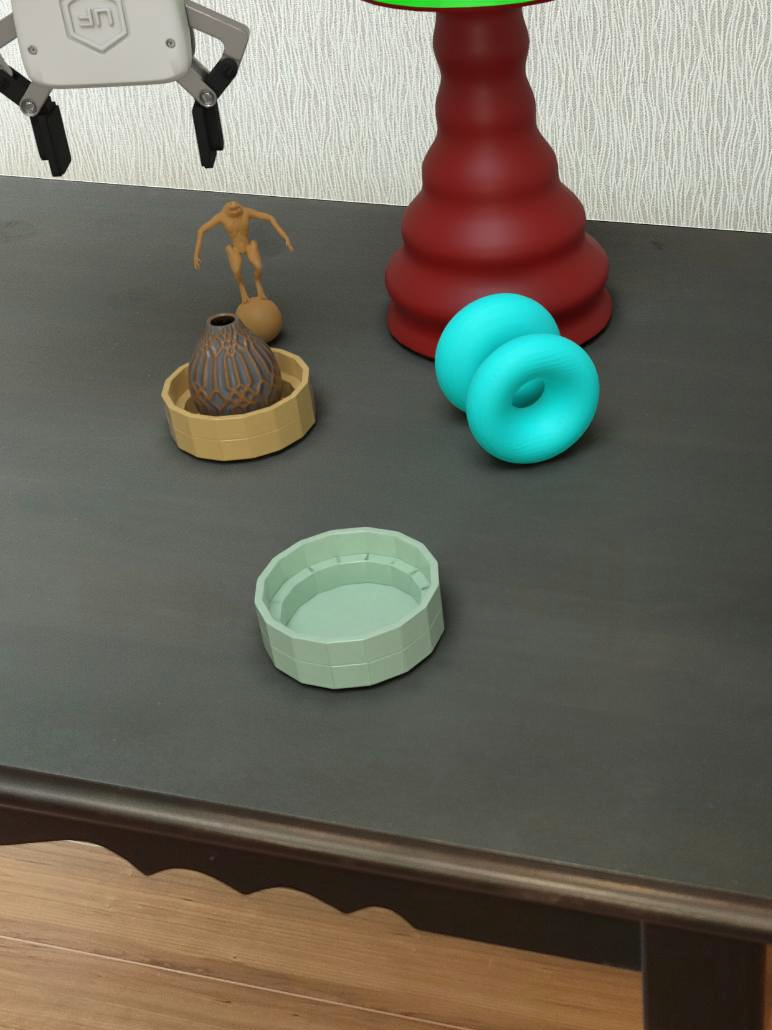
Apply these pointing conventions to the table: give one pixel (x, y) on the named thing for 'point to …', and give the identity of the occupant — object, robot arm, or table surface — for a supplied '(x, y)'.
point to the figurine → (235, 221)
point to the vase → (232, 369)
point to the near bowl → (350, 607)
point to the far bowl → (242, 416)
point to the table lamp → (490, 191)
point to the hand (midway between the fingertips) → (136, 165)
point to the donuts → (516, 378)
